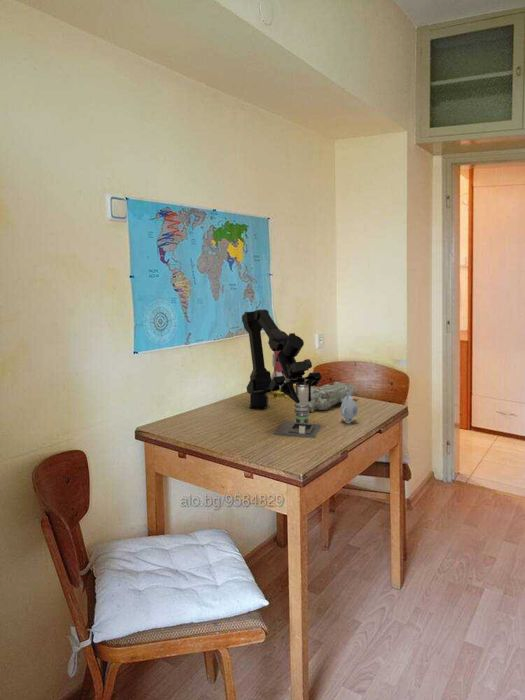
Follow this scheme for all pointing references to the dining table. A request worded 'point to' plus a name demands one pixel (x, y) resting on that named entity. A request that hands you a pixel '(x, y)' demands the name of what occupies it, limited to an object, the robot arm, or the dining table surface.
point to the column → (302, 403)
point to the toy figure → (348, 408)
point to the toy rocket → (277, 373)
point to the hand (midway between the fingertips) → (304, 402)
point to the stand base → (298, 429)
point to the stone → (329, 395)
